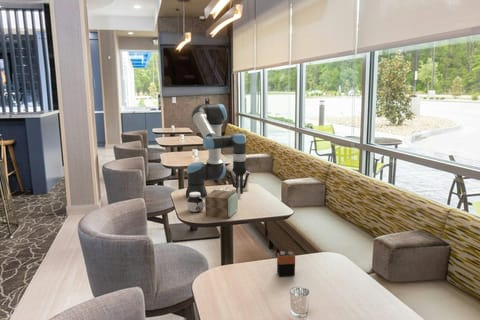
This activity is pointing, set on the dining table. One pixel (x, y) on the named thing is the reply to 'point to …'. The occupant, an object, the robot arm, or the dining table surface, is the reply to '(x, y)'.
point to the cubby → (217, 204)
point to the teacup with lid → (243, 184)
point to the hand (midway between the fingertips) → (239, 198)
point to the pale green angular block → (232, 204)
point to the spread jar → (195, 202)
